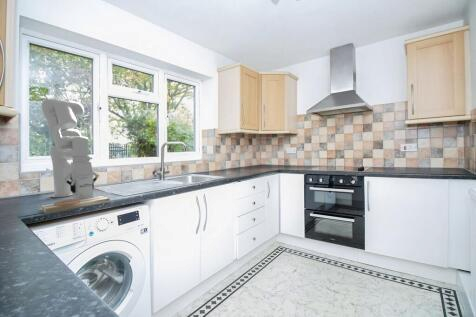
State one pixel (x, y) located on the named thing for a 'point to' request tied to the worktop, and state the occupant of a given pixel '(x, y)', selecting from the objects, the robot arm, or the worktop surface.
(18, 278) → the worktop surface
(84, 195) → the supplement box
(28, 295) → the worktop surface
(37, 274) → the worktop surface
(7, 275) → the worktop surface
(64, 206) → the board
